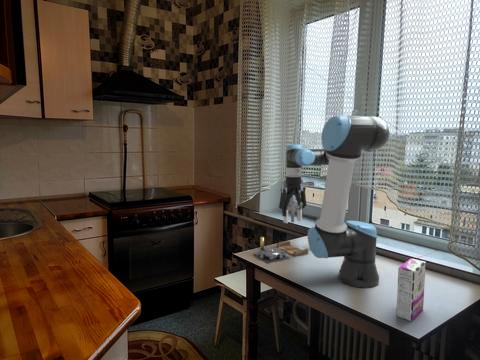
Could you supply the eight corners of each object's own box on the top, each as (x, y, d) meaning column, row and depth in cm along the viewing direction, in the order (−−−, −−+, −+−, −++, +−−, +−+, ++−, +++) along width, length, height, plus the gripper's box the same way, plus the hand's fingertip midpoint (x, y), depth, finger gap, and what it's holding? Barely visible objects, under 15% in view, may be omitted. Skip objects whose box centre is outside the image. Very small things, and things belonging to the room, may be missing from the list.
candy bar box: (407, 304, 111) (410, 257, 109) (423, 309, 108) (427, 261, 106) (394, 316, 103) (397, 266, 101) (411, 322, 100) (415, 271, 98)
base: (289, 258, 154) (289, 256, 154) (267, 263, 148) (267, 261, 148) (274, 251, 164) (274, 249, 164) (253, 255, 158) (253, 253, 158)
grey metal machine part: (269, 261, 147) (270, 244, 146) (252, 253, 157) (252, 237, 156) (290, 255, 154) (290, 239, 153) (272, 248, 165) (272, 233, 164)
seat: (308, 254, 160) (308, 249, 159) (295, 257, 156) (295, 252, 156) (288, 245, 173) (289, 241, 173) (276, 247, 169) (276, 243, 169)
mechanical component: (303, 222, 161) (303, 202, 160) (282, 222, 161) (282, 202, 160) (302, 221, 164) (302, 201, 163) (281, 221, 164) (282, 201, 163)
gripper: (280, 178, 152) (280, 226, 154) (315, 175, 162) (313, 220, 164) (271, 176, 158) (271, 222, 161) (305, 174, 168) (303, 217, 171)
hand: (292, 221), depth 163 cm, fingers closed on mechanical component, 8 cm apart
